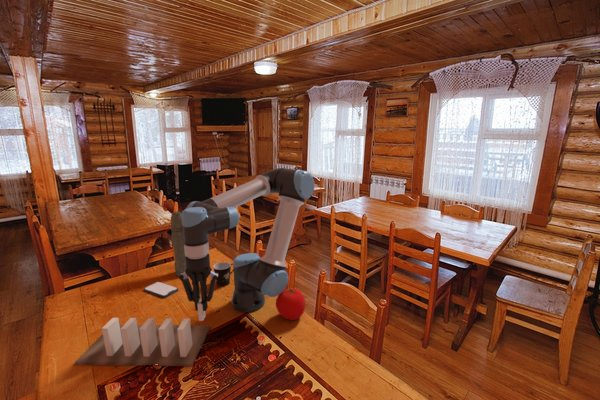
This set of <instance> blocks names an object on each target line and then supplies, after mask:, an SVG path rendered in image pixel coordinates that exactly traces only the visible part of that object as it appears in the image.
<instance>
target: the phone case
mask: <svg viewBox="0 0 600 400" xmlns="http://www.w3.org/2000/svg"><path fill="white" fill-rule="evenodd" d="M143 291H144V292H147V293H149V294H151V295H154V296H156V297H158V298H159V297H160V298H162V299H166V298H168V297H170V296H172V295H174V294H175V293H177V292H178V291H179V288H178V287H176V286H173V285H169V284H166V283H164V282H160V281H156V282H154V283H151V284H150V285H147V286H146V287H144V288H143Z"/></svg>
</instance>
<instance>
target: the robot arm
mask: <svg viewBox="0 0 600 400" xmlns="http://www.w3.org/2000/svg"><path fill="white" fill-rule="evenodd" d="M314 192H315V180H314V177H313V176H312V174H311V173H310V172H309V171H306V170H302V169H296V168H295V169H293V168H286V167H284V168H283V167H278V168H274V169H271V170H268V171H266V172H265V171H264V172H263V173H260V174H258V175H257V176H255V178H254V179H253V180H250V181H248V182H244V183H243V184H241V185H238V186H236V187H234V188H232V189H229V190H226V191H224V192H222V193H219V194H217V195H214V196H212V197H210V198H207V199H205V200H203V201H197V200H195V201H190V203H189V204H188V205H187V206H186V208H185V209H184V210H183V211H182V227H183V237H184V250H185V256H186V257H185V261H186V270H185V272H182V273H181V274H180V276H179V277H178V279H179V280H180V281H181V283H182V285H183V289H184V290H185V291H184V292H185V294H186V297H187V300H188V302H193V303H194V310H195V311H196V312H197V313H198V315H197V316H198V322H203V321H204V320H205V318H206V317H207V315H206V311H207V310H208V307H209V306H208V305H209V304H208V302H210V301H211V300H212V298H213V296H214V291H215V285H216V283H217V282H216V279H217V277H218V275H219V273H215V272H214V271H213V269H212V268H211V260H210V259H211V258H210V254H209V253H210V247H209V246H210V244H209V235H212V234H215V233H218V232H223V231H226V230H230V229H232V228H233V229H234V228H235V227H237V226H238V225H239V222H240V214H239V211H238V210H237V208H238V207H240V206H242V205H244V204H246V203H248V202H250V201H252V200H254V199H256V198H259V197H261V196H264V197H265V196H268V195H271V194H278V196H277V197H278V199H279V201H280V202H279V205H278V207H277V208H278V210H277V212H276V216H275V219H274V222H273V226H272V229H271V233H270V236H269V239H268V243H267V247H266V250H265V253H264V255H263V256H262V257H260V255H259V253H256V252H248V253H242V254H239V255H238V256H236V257H234V259H233V262H232V264H233V265H232V268H233V269H232V270H233V285H234V290H233V294H232V296H231V299H230V301H231V308H232V309H234V310H235V311H237V312H240V313H252V312H256V311H258V310H260V309H261V308H262V307H264V305H265V303H266V296H267V297H270V298H275V297H278V295H279V294H280V293H282V292H283V291H284V290H286V289H287V285H288V283H289V274H288V272H287V271H286V269H287V264H286V262H285V259H286V256H287V252H288V249H289V246H290V243H291V239H292V235H293V231H294V227H295V225H296V221H297V217H298V214H299V210H300V207H301V206H303V205H305V202H306V200H307V199H310V198H311V197H312V196H313V194H314ZM209 276H210V282H209V288H208V287H207V286H208V285H207V281H208V280H207V279H208V278H209ZM190 281H191V282H190Z"/></svg>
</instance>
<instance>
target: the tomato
mask: <svg viewBox="0 0 600 400" xmlns="http://www.w3.org/2000/svg"><path fill="white" fill-rule="evenodd" d="M276 297H277V298H276V300H275V306H276V307H275V308H276V310H277V312H278V314H279V315H280V316H282V318H284V319H285V320H286V319H287V320H289V321H294V320H297V319H299V318H301V317H302V316H303V314H304V312H305V309H306V301H305V298H304V295H303V293H302V291H300V290H299V289H298V288H294V287H288V288H285V289H284V291H283V292H282V293H280V294H279V295H278V296H276Z"/></svg>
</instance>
